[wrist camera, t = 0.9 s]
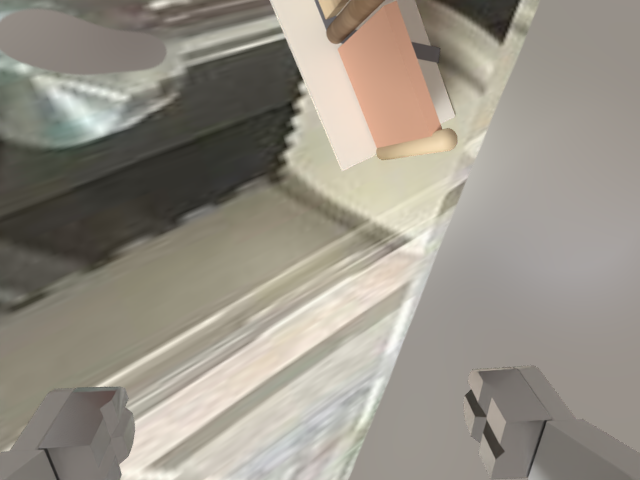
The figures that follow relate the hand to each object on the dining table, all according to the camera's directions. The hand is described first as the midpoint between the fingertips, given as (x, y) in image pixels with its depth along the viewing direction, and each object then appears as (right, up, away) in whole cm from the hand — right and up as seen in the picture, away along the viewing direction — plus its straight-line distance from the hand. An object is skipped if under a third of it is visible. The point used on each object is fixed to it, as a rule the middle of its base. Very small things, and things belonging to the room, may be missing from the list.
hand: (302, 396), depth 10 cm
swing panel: (+5, +18, +35) cm, 40 cm away
